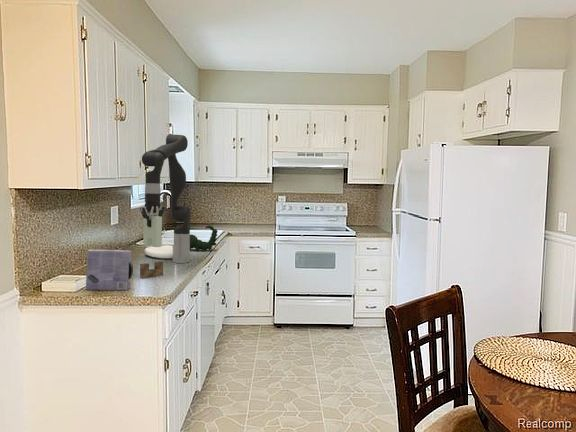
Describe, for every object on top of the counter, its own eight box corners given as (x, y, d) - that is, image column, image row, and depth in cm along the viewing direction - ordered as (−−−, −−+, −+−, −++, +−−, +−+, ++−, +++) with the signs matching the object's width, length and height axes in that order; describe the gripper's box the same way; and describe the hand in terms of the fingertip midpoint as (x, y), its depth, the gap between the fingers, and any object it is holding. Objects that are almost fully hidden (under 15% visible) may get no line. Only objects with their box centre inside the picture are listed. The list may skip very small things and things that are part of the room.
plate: (198, 249, 293) (166, 254, 271) (197, 258, 294) (165, 265, 272) (168, 239, 308) (135, 244, 286) (168, 249, 309) (135, 254, 287)
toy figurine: (215, 252, 319) (179, 248, 317) (218, 225, 318) (182, 221, 315) (214, 254, 310) (177, 250, 308) (217, 227, 308) (180, 223, 306)
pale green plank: (143, 244, 232) (143, 215, 231) (148, 244, 235) (148, 215, 233) (156, 247, 225) (156, 217, 224) (161, 246, 228) (161, 216, 226)
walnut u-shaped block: (142, 278, 226) (142, 264, 225) (140, 277, 227) (140, 264, 227) (163, 275, 235) (163, 261, 235) (160, 274, 237) (160, 261, 236)
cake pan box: (133, 287, 208) (133, 249, 206) (131, 290, 203) (131, 251, 201) (88, 287, 205) (88, 248, 203) (85, 290, 200) (85, 250, 198)
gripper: (160, 192, 236) (159, 225, 237) (136, 192, 225) (135, 227, 226) (169, 192, 231) (168, 226, 232) (144, 192, 220) (144, 228, 221)
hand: (152, 226), depth 229 cm, fingers closed on pale green plank, 3 cm apart
